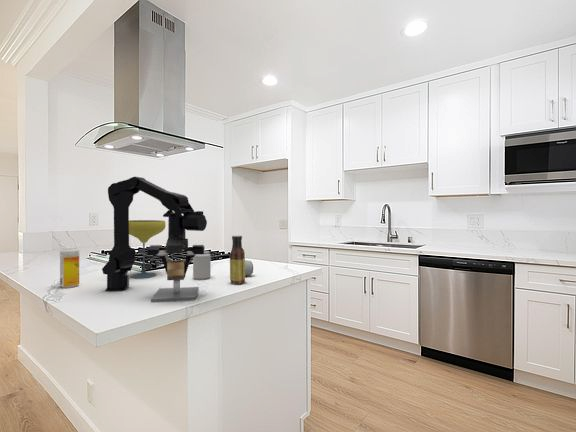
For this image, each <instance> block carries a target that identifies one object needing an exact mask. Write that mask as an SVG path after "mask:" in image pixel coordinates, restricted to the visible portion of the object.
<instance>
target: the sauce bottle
mask: <svg viewBox="0 0 576 432" xmlns="http://www.w3.org/2000/svg"><path fill="white" fill-rule="evenodd" d="M231 239H232V246H231V251H230V254H229V280H230V284H232V285H242V284H244V283H246V276H245V260H246V257H245V250H244V248H243V245H242V242H243V241H242V240H243V236H242V235H239V234H238V235H232V236H231Z"/></svg>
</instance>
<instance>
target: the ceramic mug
mask: <svg viewBox="0 0 576 432" xmlns="http://www.w3.org/2000/svg"><path fill="white" fill-rule="evenodd" d="M253 273H254V264H253V262H252V261H251V260H249V259H248V260H247V259H245V277H250V276H251V275H252V274H253Z"/></svg>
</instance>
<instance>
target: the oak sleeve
mask: <svg viewBox="0 0 576 432" xmlns="http://www.w3.org/2000/svg"><path fill="white" fill-rule="evenodd" d="M168 261H169V262H168V263H167V273H166V277H167V278H166V280H167V281H173V280H180V281H184V280H185V278H186V274H184V269H185V262H186V259H181V260H180V259H174V260H168Z"/></svg>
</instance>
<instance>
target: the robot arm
mask: <svg viewBox="0 0 576 432" xmlns="http://www.w3.org/2000/svg"><path fill="white" fill-rule="evenodd" d="M139 192H143V193H144V194H147V195H148V196H150V197H152V198H154V199H156V200H158V201H159V202H160V203H161V205H162V206H163V207H164V208H166V209H167V211H166V212H165V213H163V215H162V217H163V218H168V222H167V223H168V229H167V230H168V232H167V233H168V234H167V240H166V243H165V247H163V246H162V244H157V245H156V244H151V245H149V246H148V247H147V248H146V256H155V257H156V258H159V259H160V260H161V262H162V264H163V267H164V269H165V272H166V274H167V263H168V262H169V261H170V260H169V255H170V254H176V255H177V254H182V253H187V254H186V255H185V260H186V262H185V269H184V274H185V275H186V274H187V271H188V268H189V265H190V263H191V260H192V259H193V257H195V255H196V254H204V252H205V251H206V250H205V245H204V244H193V245H192V246H189V239H188V238H186V231H197V232H204V231H205V230H206V228H207V224H208V220H207V219H206V216H205V214H204V210H202V211H199V210H198V211H197V210H196V211H195V210H194V209H193V207H192V206H191V204H190V202H189V198H188V196H186V195H184V194H182V193H178V192H172V191H169V190H166V188H164V187H163V188H162V187H161V186H158V185H156V184H155V183H153V182H151V181H149V180H147V179H145V178H144V177H142V176H141V177H139V176H133V177H130V178H128V179H125V180H121V181H118V182H113V183H112V184H110V185H109V186H108V187H107V196H108V201H109V202H110V204H111V206H112V208H113V247H112V248H111V250H110V252H109V256H108V261H107V262H106V263H105V265H104V266H103V267H102V268H101V270H102V274H103V275H106V288H105V292H110V291H111V292H113V291H125V290H127V288H129V287H130V275H129V273H128V272H130V271H132V270H133V269H132V268H133V265H135V261H136V260H137V259H136V249H135V248H134V249H132V247H131V245H130V234H129V221H130V217H129V216H130V215H129V214H130V213H129V211H130V210H129V209H130V206H131V204H132V202H133V201H134V196H135V195H137V194H138V193H139Z"/></svg>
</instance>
